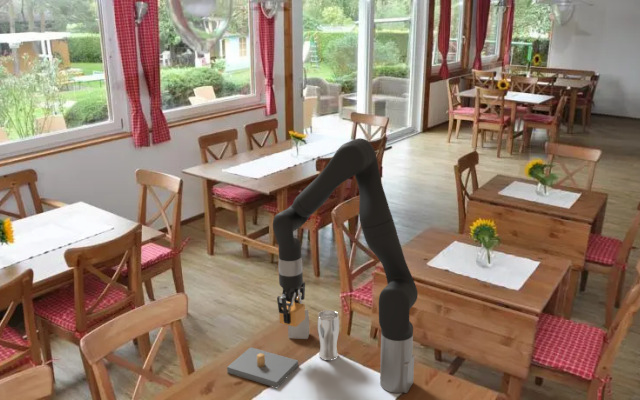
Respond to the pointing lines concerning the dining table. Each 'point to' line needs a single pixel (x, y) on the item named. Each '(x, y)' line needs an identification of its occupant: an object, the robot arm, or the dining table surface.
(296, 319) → the matte orange cube
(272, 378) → the board
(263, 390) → the dining table surface
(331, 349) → the beer glass
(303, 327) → the grey cardboard box
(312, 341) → the dining table surface
